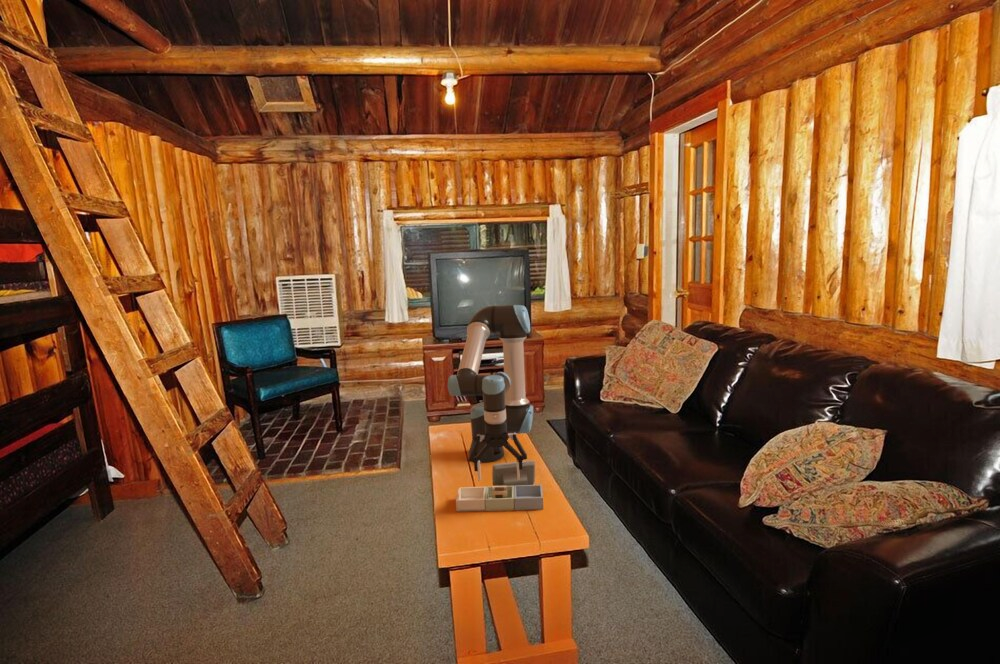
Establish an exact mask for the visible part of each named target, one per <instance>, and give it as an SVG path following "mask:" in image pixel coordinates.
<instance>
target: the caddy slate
mask: <svg viewBox="0 0 1000 664" xmlns="http://www.w3.org/2000/svg"><path fill="white" fill-rule="evenodd" d="M529 510H531V511H532V510H544V495H543V484H532V485H517V486H514V511H529Z"/></svg>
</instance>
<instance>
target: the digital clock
mask: <svg viewBox="0 0 1000 664" xmlns="http://www.w3.org/2000/svg"><path fill="white" fill-rule="evenodd" d="M519 473H520V480H517V461H512V462H505V463H504V462H503V463H502V462H501V463H495V464H494V465H492V473H491V474H492V486H517V485H534V483H535V481H536V480H535V479H536V477H535V476H536V462H535V461H534V460H523V461H522V470H519Z"/></svg>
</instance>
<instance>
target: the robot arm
mask: <svg viewBox="0 0 1000 664" xmlns="http://www.w3.org/2000/svg"><path fill="white" fill-rule="evenodd" d="M466 333H467V337H466V341H465V345H464V347H463V352H462V354H461V359H460V362H459V365H458V370H457V372H456V374H451V375H450V376H448V380H447V392H448V393H449V395H450V396H454V397H476V396H477V397H482V400H483V401H481V402H479V403H476V404H474V405H473V406H472V407H471V408H470V417H469V418H470V427H471V443H470V446H469V450H468V462H472V463H473V467H474V468H473V469H474V470H473V471H474V472H477V478H478V479H477V481H478V482H481V481H482V471H481V470H482V469H481V463H493V462H496V461H499V460H501V459H502V458H504V456H505V449H507V451H508V452H509V453H510V454H511V455H513V456H514V458H516V462H517V480H520V473H519V470H522V461H527V460H528V454H527V452H526V451H525V448H524V447H523V446H522V443H521V442H520V441H519V439H518V434H519V435H520V434H529V433H530V431H531V429H532V425H533V420H534V419H533V418H534V406H533V405H532V404H530V400H529V399H528V398H527V396H526V395H527V394H526V378H525V377H526V375H525V374H526V372H525V350H524V341H525V340H526V339H527V338H528V337H527V336H528V334H530V333H531V322H530V316H529V312H528V308H527V307H526V306H525V305H523V304H522V305H521V304H507V305H506V304H505V305H489V306H485V307H483V308H481V309H479V310H478V311H477V312H476V313H475V314H473V316H472V317H471V318H470V321H469V322H468V324H467V328H466ZM492 334H493V335H494V334H495V335H496V334H498V339H499V340H500V341H501V342H502V351H503V354H502V355H503V371H498V372H495V373H493V374H479V371H480V370H479V369H480V366H481V362H482V358H483V357H482V356H483V354H484V349H485V346H486V341H487V340H488V338H489V337H490V335H492ZM509 439H510V440H511V441H513V443H514V444H515V447H516V448H517V450H518V451H517V450H516V448H514V447H513V445H511V444H510V442H509V441H508V440H509Z"/></svg>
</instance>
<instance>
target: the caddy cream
mask: <svg viewBox="0 0 1000 664" xmlns="http://www.w3.org/2000/svg"><path fill="white" fill-rule="evenodd" d="M486 488H487V486H466V487H465V486H464V487H458V491H457V495H456V498H455V507H456V513H470V512H471V513H472V512H486V508H485V496H486Z"/></svg>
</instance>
